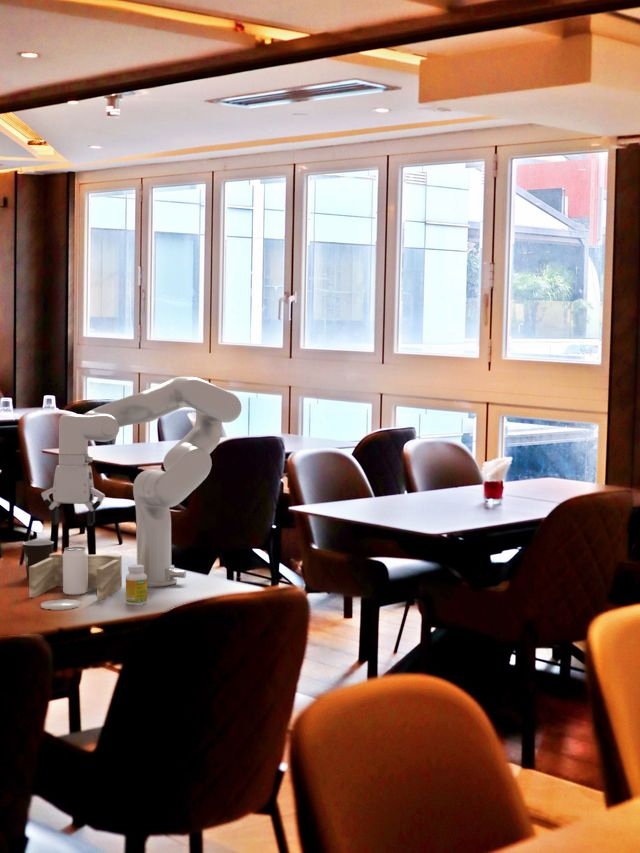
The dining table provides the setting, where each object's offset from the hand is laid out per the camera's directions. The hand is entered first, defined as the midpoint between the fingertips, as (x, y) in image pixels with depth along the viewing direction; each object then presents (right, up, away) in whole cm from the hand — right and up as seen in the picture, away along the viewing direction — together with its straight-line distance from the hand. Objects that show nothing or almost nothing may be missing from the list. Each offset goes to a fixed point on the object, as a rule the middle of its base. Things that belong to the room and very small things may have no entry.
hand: (72, 524), depth 323 cm
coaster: (0, -19, -15) cm, 24 cm away
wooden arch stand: (0, -18, +2) cm, 18 cm away
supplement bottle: (+19, -19, -11) cm, 29 cm away
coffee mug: (-14, -17, +24) cm, 33 cm away
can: (0, -19, +2) cm, 19 cm away
